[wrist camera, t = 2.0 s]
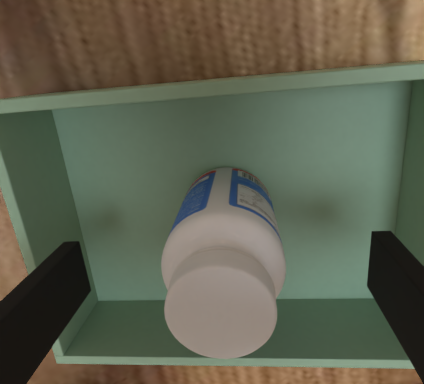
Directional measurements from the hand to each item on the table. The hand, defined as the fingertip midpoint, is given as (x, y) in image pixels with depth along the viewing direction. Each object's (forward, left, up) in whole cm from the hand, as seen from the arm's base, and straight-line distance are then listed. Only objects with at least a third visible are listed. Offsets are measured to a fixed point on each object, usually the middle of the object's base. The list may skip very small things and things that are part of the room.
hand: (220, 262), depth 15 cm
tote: (0, 0, -7) cm, 7 cm away
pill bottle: (0, 0, -6) cm, 6 cm away
